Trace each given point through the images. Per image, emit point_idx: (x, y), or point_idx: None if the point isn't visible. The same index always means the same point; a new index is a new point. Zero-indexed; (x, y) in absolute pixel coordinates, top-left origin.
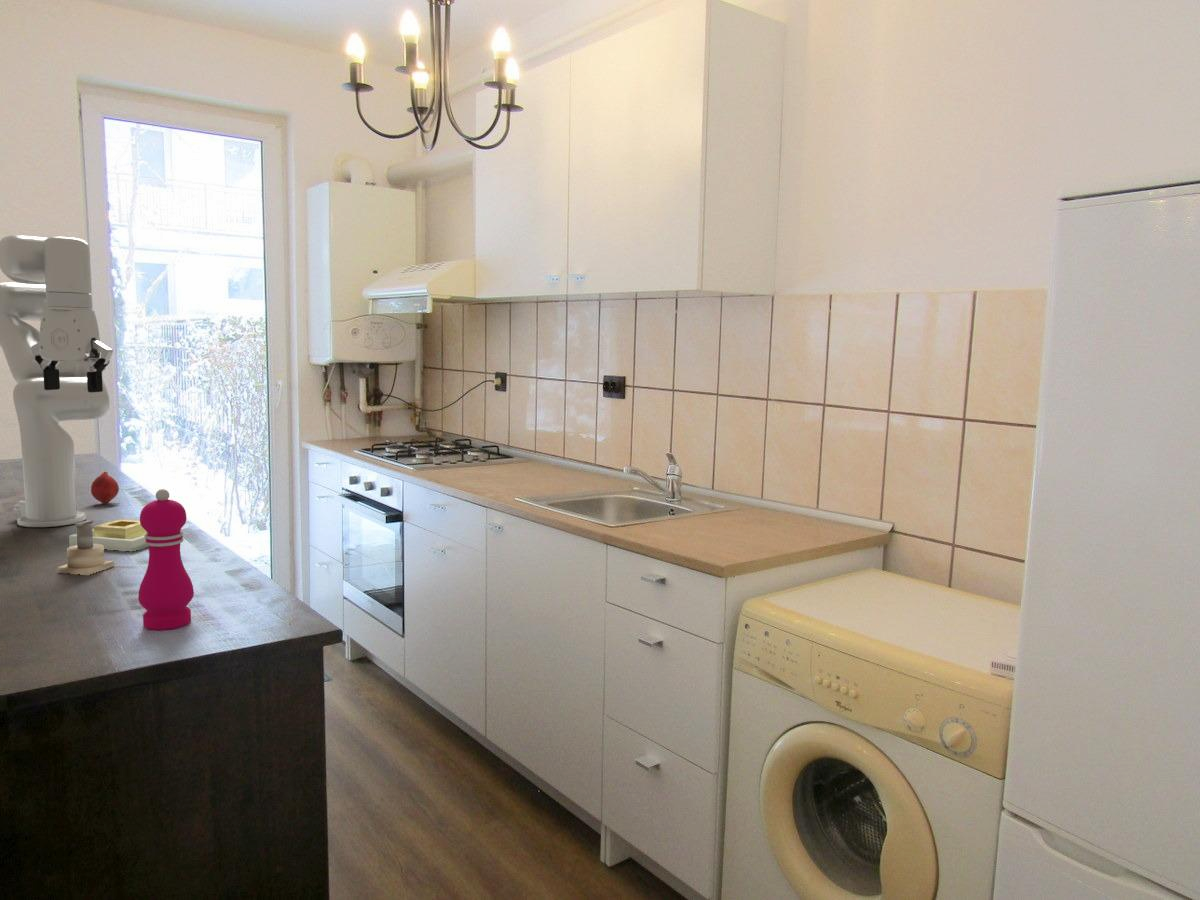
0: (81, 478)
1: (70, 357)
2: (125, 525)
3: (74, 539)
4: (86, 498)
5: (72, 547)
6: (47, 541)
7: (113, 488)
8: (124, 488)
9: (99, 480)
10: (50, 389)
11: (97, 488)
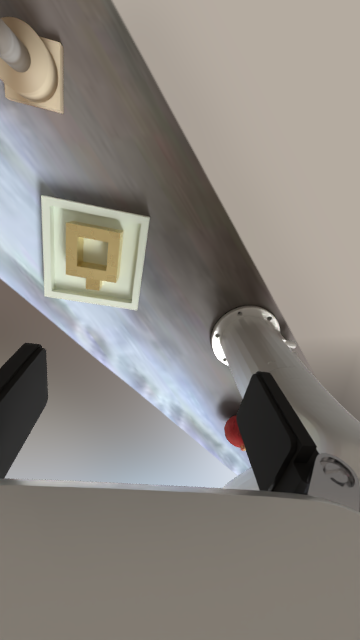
0: None
1: (14, 514)
2: (100, 268)
3: (140, 215)
4: None
5: (39, 54)
6: (195, 243)
7: (226, 429)
8: None
9: None
10: (251, 385)
11: None
